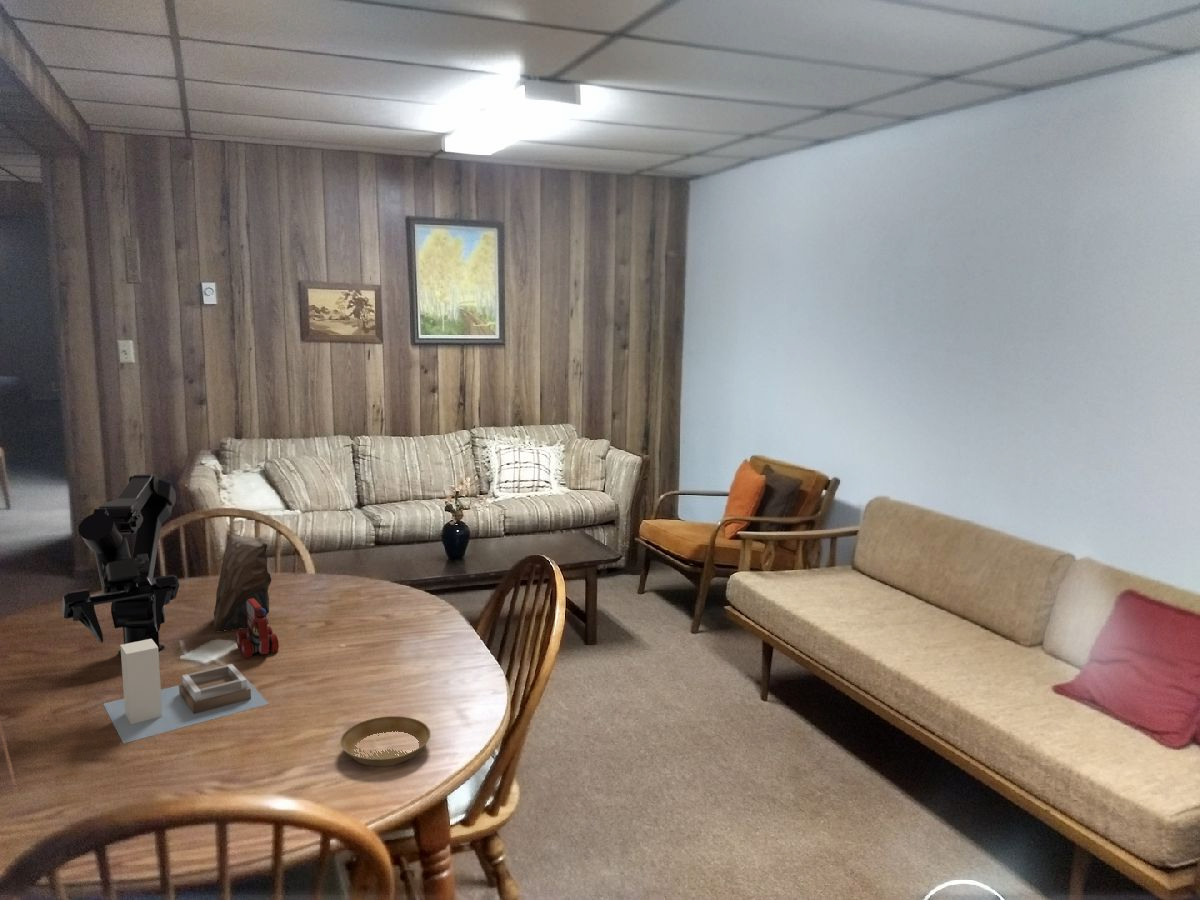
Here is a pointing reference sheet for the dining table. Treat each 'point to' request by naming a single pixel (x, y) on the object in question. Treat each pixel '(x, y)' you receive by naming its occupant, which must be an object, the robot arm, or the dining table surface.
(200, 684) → the brown open tray
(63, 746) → the dining table surface
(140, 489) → the robot arm
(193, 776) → the dining table surface
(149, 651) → the cream post
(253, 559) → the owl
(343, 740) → the plant saucer
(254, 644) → the toy fire truck
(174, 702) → the blue-gray board
